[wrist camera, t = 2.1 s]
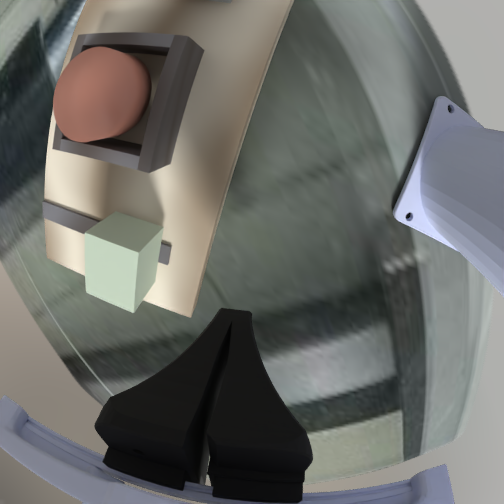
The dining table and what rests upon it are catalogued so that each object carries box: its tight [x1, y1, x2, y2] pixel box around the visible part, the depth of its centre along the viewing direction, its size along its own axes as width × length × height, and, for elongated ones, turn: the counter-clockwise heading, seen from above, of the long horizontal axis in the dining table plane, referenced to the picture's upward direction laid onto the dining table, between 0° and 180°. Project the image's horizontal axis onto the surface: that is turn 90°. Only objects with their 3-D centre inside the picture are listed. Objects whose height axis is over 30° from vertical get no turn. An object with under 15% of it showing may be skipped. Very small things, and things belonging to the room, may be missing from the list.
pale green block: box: [85, 211, 164, 313], centre depth 13 cm, size 3×4×3 cm
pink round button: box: [53, 47, 152, 142], centre depth 9 cm, size 4×4×2 cm
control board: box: [43, 0, 294, 317], centre depth 11 cm, size 12×22×4 cm, turn 163°
